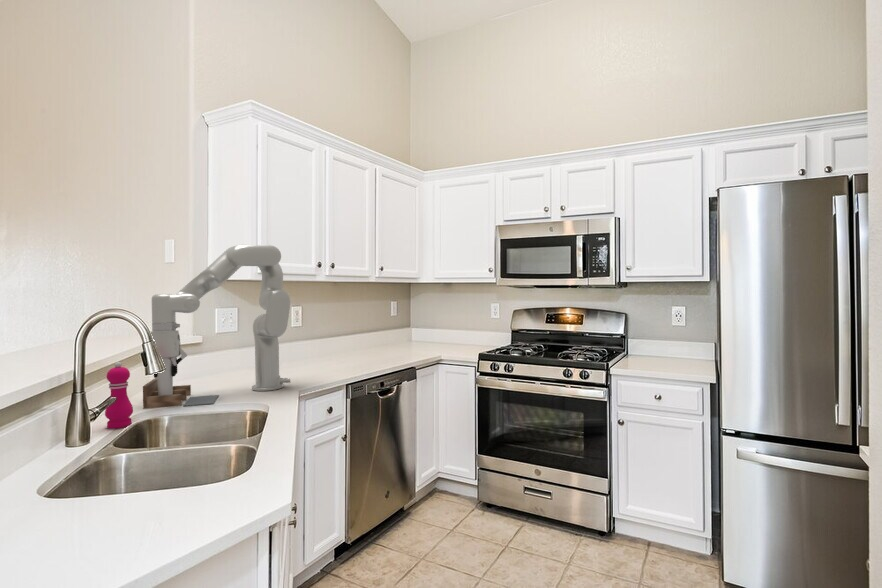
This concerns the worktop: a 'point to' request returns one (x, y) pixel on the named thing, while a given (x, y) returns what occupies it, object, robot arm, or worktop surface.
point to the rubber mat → (201, 400)
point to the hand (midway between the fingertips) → (165, 375)
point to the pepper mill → (119, 398)
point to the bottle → (165, 379)
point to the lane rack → (157, 401)
